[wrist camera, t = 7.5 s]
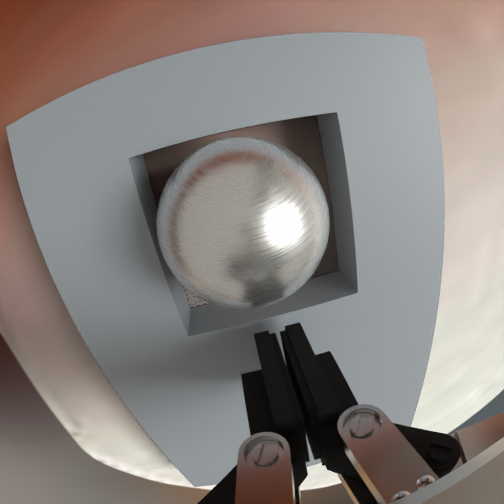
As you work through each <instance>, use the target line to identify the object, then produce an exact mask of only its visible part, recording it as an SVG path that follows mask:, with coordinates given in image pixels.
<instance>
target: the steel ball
mask: <svg viewBox="0 0 504 504" xmlns="http://www.w3.org/2000/svg"><path fill="white" fill-rule="evenodd" d="M329 229H330V218H329V209H328V204H327V200H326V196H325V194H324V191H323V188H322V186H321V184H320V182H319V180H318V179H317V177H316V176H315V174H314V173H313V171H312V170H311V169H310V167H309V166H308V165H307V164H306V163H305V162H304V161H303V160H302V159H301V158H300V157H298V156H297V155H296V154H294V153H293V152H292V151H290V150H289V149H287V148H285V147H284V146H281V145H279V144H277V143H275V142H272V141H269V140H266V139H261V138H255V137H230V138H225V139H221V140H217V141H214V142H212V143H209V144H207V145H205V146H203V147H201V148H200V149H198V150H196V151H195V152H193V153H192V154H190V155H189V156H188V157H187V158H186V159H184V160H183V161H182V162H181V163H180V165H179V166H178V167H177V168H176V169H175V170H174V172H173V173H172V175H171V176H170V178H169V179H168V181H167V183H166V185H165V187H164V189H163V192H162V194H161V197H160V201H159V205H158V210H157V236H158V241H159V245H160V249H161V252H162V255H163V257H164V259H165V261H166V263H167V265H168V267H169V269H170V270H171V271H172V273H173V274H174V276H175V277H176V278H177V280H178V281H179V282H180V283H181V284H182V285H183V286H184V287H186V288H187V289H188V290H189V291H190V292H192V293H193V294H194V295H196V296H197V297H199V298H201V299H203V300H205V301H207V302H209V303H211V304H214V305H217V306H220V307H225V308H230V309H256V308H261V307H265V306H269V305H272V304H274V303H277V302H279V301H281V300H283V299H285V298H287V297H288V296H290V295H292V294H293V293H294V292H296V291H297V290H298V289H300V288H301V287H302V286H303V285H304V284H305V283H306V282H307V281H308V280H309V278H310V277H311V276H312V274H313V273H314V272H315V270H316V269H317V267H318V265H319V263H320V261H321V259H322V257H323V255H324V252H325V249H326V246H327V242H328V237H329Z"/></svg>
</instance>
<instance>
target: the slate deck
mask: <svg viewBox="0 0 504 504" xmlns="http://www.w3.org/2000/svg"><path fill="white" fill-rule="evenodd" d="M316 115H317V120H318V126H319V131H320V136H321V142H322V147H323V153H324V159H325V165H326V172H327V178H328V185H329V191H330V199H331V206H332V214H333V221H334V230H335V238H336V248H337V257H338V268H339V271H336V272H332V273H329V274H325V275H322V276H318V277H314V278H310V279H309V280H308V281H307V282H306V283H305V284H304V285H303V286H302V287H301V288H300V289H298V290H297V291H296V292H294V293H293V294H292V295H290V296H288V297H287V298H285V299H283V300H281V301H279V302H277V303H274V304H272V305H269V306H265V307H261V308H256V309H230V308H225V307H220V306H217V305H214V304H206V305H202V306H198V307H193V308H190V305H189V303H188V300H187V297H186V294H185V292H184V289H183V286H182V284H181V283H180V282H179V281H178V280H177V278H176V277H175V276H174V274H173V273H172V271H171V270H170V269H169V267H168V265H167V263H166V261H165V259H164V257H163V255H162V252H161V249H160V245H159V241H158V236H157V210H158V208H157V205H156V201H155V198H154V194H153V191H152V187H151V184H150V180H149V176H148V173H147V169H146V165H145V161H144V158H143V154H145V153H149V152H152V151H155V150H159V149H162V148H165V147H169V146H172V145H176V144H179V143H183V142H187V141H191V140H194V139H198V138H202V137H206V136H210V135H215V134H219V133H223V132H227V131H232V130H237V129H241V128H246V127H251V126H256V125H261V124H266V123H272V122H277V121H283V120H289V119H295V118H302V117H309V116H316ZM6 129H7V135H8V140H9V145H10V150H11V154H12V159H13V163H14V167H15V171H16V175H17V179H18V183H19V186H20V190H21V193H22V197H23V200H24V203H25V207H26V210H27V213H28V216H29V219H30V222H31V225H32V228H33V231H34V233H35V236H36V239H37V242H38V244H39V247H40V249H41V252H42V254H43V257H44V259H45V262H46V264H47V267H48V269H49V271H50V274H51V276H52V278H53V280H54V283H55V285H56V287H57V289H58V291H59V293H60V296H61V298H62V300H63V302H64V304H65V306H66V308H67V310H68V312H69V314H70V316H71V318H72V320H73V321H74V323H75V325H76V327H77V329H78V331H79V333H80V334H81V336H82V338H83V340H84V342H85V343H86V345H87V347H88V348H89V350H90V352H91V354H92V355H93V357H94V359H95V360H96V362H97V363H98V365H99V367H100V368H101V370H102V371H103V373H104V375H105V376H106V378H107V379H108V381H109V382H110V384H111V385H112V387H113V388H114V390H115V391H116V393H117V394H118V395H119V397H120V398H121V400H122V401H123V403H124V404H125V405H126V407H127V408H128V409H129V411H130V412H131V414H132V415H133V416H134V418H135V419H136V420H137V421H138V423H139V424H140V425H141V427H142V428H143V429H144V430H145V432H146V433H147V434H148V435H149V437H150V438H151V439H152V440H153V442H154V443H155V444H156V445H157V446H158V448H159V449H160V450H161V451H162V452H163V453H164V455H165V456H166V457H167V458H168V459H169V460H170V461H171V462H172V464H173V465H174V466H175V467H176V468H177V469H178V470H179V471H180V472H181V473H182V474H183V475H184V476H185V477H186V479H187V480H188V481H189V482H190V483H191V484H192V485H193V486H194V487H196V486H207V485H216V484H218V483H219V482H220V481H221V480H222V479H223V478H224V477H225V476H226V475H227V474H228V473H229V472H230V471H231V470H232V469H233V468H234V467H235V466H236V465H237V460H238V451H239V447H240V446H241V444H242V443H243V441H245V440H246V439H247V438H248V437H250V430H249V423H248V417H247V411H246V405H245V398H244V392H243V386H242V379H241V374H243V373H247V372H252V371H256V370H260V369H262V368H261V364H260V360H259V356H258V351H257V347H256V343H255V338H254V334H255V333H259V332H263V331H267V330H268V331H269V334H272V333H276V336H277V339H278V342H279V345H280V348H281V351H282V354H283V357H284V360H285V356H284V351H283V346H282V341H281V336H280V331H284V330H285V326H287V325H291V324H295V323H298V322H300V324H301V326H302V328H303V330H304V332H305V334H306V336H307V338H308V341H309V343H310V345H311V347H312V349H313V351H314V353H315V355H317V354H320V353H324V352H327V351H330V352H331V353H332V355H333V357H334V359H335V361H336V362H337V364H338V366H339V368H340V370H341V372H342V374H343V376H344V378H345V379H346V381H347V383H348V385H349V387H350V389H351V391H352V393H353V395H354V397H355V398H356V400H357V402H358V404H359V405H361V404H368V405H373V406H376V407H378V408H379V409H381V410H382V411H383V412H384V413H385V414H386V416H387V417H388V418H389V419H390V420H391V422H392V423H396V424H400V425H404V426H409V427H411V424H412V420H413V417H414V414H415V411H416V407H417V404H418V401H419V397H420V393H421V390H422V386H423V382H424V378H425V374H426V369H427V365H428V361H429V356H430V351H431V346H432V341H433V335H434V330H435V324H436V317H437V310H438V303H439V295H440V286H441V276H442V265H443V249H444V220H445V201H444V172H443V157H442V146H441V136H440V127H439V120H438V113H437V106H436V100H435V94H434V89H433V83H432V78H431V74H430V69H429V64H428V60H427V56H426V52H425V48H424V44H423V40H422V38H420V37H412V36H404V35H393V34H380V33H359V32H323V33H301V34H288V35H277V36H268V37H260V38H252V39H246V40H239V41H233V42H228V43H222V44H217V45H212V46H207V47H203V48H198V49H194V50H190V51H186V52H182V53H178V54H174V55H170V56H167V57H163V58H160V59H156V60H153V61H150V62H147V63H144V64H141V65H138V66H135V67H132V68H129V69H126V70H123V71H120V72H118V73H115V74H112V75H110V76H107V77H105V78H102V79H100V80H97V81H95V82H92V83H90V84H88V85H85V86H83V87H81V88H79V89H76V90H74V91H72V92H70V93H68V94H66V95H64V96H61V97H59V98H57V99H55V100H53V101H51V102H50V103H48V104H46V105H44V106H42V107H40V108H38V109H36V110H35V111H33V112H31V113H29V114H27V115H26V116H24V117H22V118H21V119H19V120H17V121H16V122H14V123H12V124H11V125H9V126H7V127H6ZM285 363H286V362H285ZM306 439H307V436H306ZM307 446H308V452H309V459H310V462H306V467H308V466H312V465H315V464H318V463H322V462H321V459H317V460H314V457H313V454H312V451H311V448H310V445H309V442H308V439H307Z"/></svg>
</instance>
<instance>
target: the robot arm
mask: <svg viewBox="0 0 504 504" xmlns="http://www.w3.org/2000/svg"><path fill="white" fill-rule="evenodd" d="M280 336H281V341H282V346H283V351H284V356H285V360H284V357H283V354H282V351H281V348H280V345H279V342H278V339H277V336H276V333H272V334H269V331H268V330H267V331H263V332H259V333H255V334H254V338H255V343H256V347H257V351H258V356H259V360H260V364H261V368H262V369H260V370H256V371H252V372H247V373H243V374H241V379H242V386H243V392H244V398H245V405H246V411H247V417H248V423H249V430H250V437H248V438H247V439H246V440H245V441H243V443H242V444H241V446H240V447H239V451H238V460H237V465H236V466H235V467H234V468H233V469H232V470H231V471H230V472H229V473H228V474H227V475H226V476H225V477H224V478H223V479H222V480H221V481H220V482H219V483H218V484H217V485H216V486H215V487H214V488H213V489H212V490H211V491H210V492H209V493H208V494H207V495H206V496H205V497H204V498H203V499H202V500H201V501H200V502H199V503H198V504H301V498H300V487H299V486H300V485H301V483H302V482H303V481H304V479H305V478H306V477H307V475H308V474H307V468H306V462H310V459H309V452H308V446H307V439H308V442H309V445H310V448H311V451H312V454H313V457H314V460H317V459H321V462H322V465H326V468H327V470H330V471H333V472H335V473H337V474H338V477H339V479H340V480H341V482H342V483H343V485H344V487H345V488H346V490H347V492H348V493H349V495H350V497H351V498H352V500H353V501H354V503H355V504H504V413H501V414H499V415H496V416H493V417H491V418H489V419H486V420H484V421H481V422H479V423H476V424H473V425H471V426H468V427H465V428H463V429H460V430H457V431H456V433H454V434H452V435H447V434H444V433H438V432H433V431H428V430H423V429H418V428H413V427H409V426H404V425H400V424H396V423H392V422H391V420H390V419H389V418H388V417H387V416H386V414H385V413H384V412H383V411H382V410H381V409H379V408H378V407H376V406H373V405H368V404H361V405H359V404H358V402H357V400H356V398H355V397H354V395H353V393H352V391H351V389H350V387H349V385H348V383H347V381H346V379H345V378H344V376H343V374H342V372H341V370H340V368H339V366H338V364H337V362H336V361H335V359H334V357H333V355H332V353H331V352H330V351H327V352H324V353H320V354H317V355H315V353H314V351H313V349H312V347H311V345H310V343H309V341H308V338H307V336H306V334H305V332H304V330H303V328H302V326H301V324H300V322H298V323H295V324H291V325H287V326H285V330H284V331H280ZM285 362H286V363H285ZM306 436H307V439H306Z"/></svg>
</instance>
